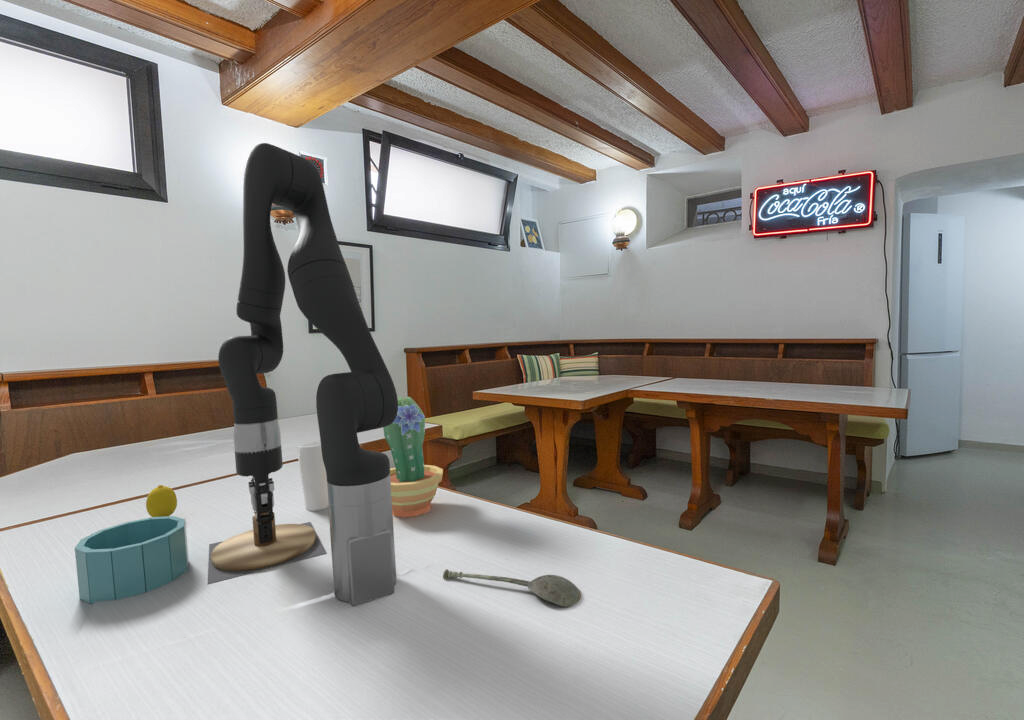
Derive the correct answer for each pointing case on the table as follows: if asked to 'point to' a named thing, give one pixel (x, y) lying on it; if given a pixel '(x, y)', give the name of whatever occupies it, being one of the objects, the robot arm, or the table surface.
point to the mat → (221, 575)
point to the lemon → (161, 502)
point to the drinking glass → (313, 475)
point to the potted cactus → (410, 462)
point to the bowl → (131, 558)
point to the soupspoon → (536, 586)
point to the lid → (263, 547)
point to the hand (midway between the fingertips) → (265, 537)
